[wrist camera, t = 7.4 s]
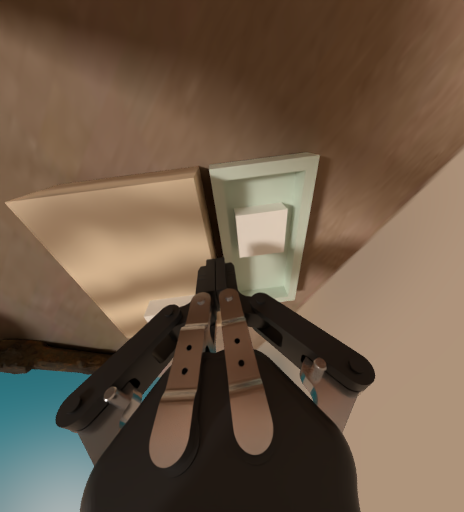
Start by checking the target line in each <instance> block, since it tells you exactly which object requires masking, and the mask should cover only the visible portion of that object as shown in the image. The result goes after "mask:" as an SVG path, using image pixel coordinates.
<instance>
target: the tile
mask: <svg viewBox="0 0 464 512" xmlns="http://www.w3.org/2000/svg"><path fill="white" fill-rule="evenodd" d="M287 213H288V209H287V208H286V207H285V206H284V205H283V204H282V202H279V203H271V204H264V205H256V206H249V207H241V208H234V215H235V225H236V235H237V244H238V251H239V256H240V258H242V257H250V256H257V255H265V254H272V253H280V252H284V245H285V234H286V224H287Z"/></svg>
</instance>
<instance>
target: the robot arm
mask: <svg viewBox="0 0 464 512" xmlns="http://www.w3.org/2000/svg"><path fill="white" fill-rule="evenodd" d="M197 276H198V277H197V284H196V292H195V295H194V296H193V298H192V299H191V302H190V303H188V304H186V305H184V306H181V307H179V306H177V305H175V304H171V305H168V306H166V307H164V308H163V309H162V310H161V311H160V312H159V313H157V314H156V315H155V316H154V317H153V318H152V319H151V320H150V321H149V322H148V323H147V324H146V325H145V326H144V327H142V328H141V329H140V330H139V331H138V332H137V333H136V334H135V335H134V336H133V337H132V338H131V339H130V340H128V341H127V342H126V343H125V344H124V345H123V346H122V347H121V348H120V349H119V350H118V351H117V352H116V353H114V354H113V355H112V356H111V357H110V358H109V359H108V360H107V361H106V362H105V363H104V364H103V365H102V366H101V367H99V368H98V369H97V370H96V371H95V372H94V373H93V374H92V375H91V376H90V377H89V378H88V379H87V380H85V382H83V383H82V384H81V385H80V386H79V387H78V388H77V389H76V390H75V391H74V392H73V393H71V394H70V395H69V396H68V397H67V399H66V400H65V401H64V402H63V403H62V405H61V406H60V408H59V410H58V412H57V415H56V424H57V426H59V427H61V428H65V429H68V430H70V431H72V432H75V433H78V435H79V436H80V438H81V440H82V443H83V444H84V446H85V448H86V450H87V452H88V454H89V456H90V458H91V460H92V462H93V464H94V468H93V470H92V472H91V474H90V477H89V479H88V481H87V484H86V487H85V490H84V493H83V497H82V501H81V508H80V512H360V507H359V500H358V492H357V474H356V467H355V463H354V459H353V456H352V453H351V450H350V447H349V445H348V443H347V441H346V439H345V437H344V436H343V434H342V432H343V430H344V428H345V425H346V423H347V420H348V418H349V415H350V413H351V410H352V408H353V406H354V403H355V401H356V398H357V396H359V395H360V394H361V393H362V392H363V391H364V390H365V389H366V388H367V387H368V386H369V385H370V384H371V383H372V382H373V381H374V379H375V372H374V369H373V367H372V365H371V364H370V362H369V361H368V360H367V359H366V358H365V357H363V356H362V355H360V354H359V353H357V352H356V351H354V350H353V349H351V348H350V347H348V346H347V345H345V344H343V343H342V342H340V341H339V340H337V339H336V338H334V337H333V336H331V335H329V334H328V333H326V332H325V331H323V330H322V329H320V328H318V327H317V326H316V325H314V324H312V323H311V322H309V321H308V320H306V319H305V318H303V317H302V316H300V315H298V314H297V313H295V312H294V311H292V310H291V309H289V308H288V307H286V306H285V305H283V304H281V303H280V302H278V301H277V300H275V299H274V298H272V297H271V296H269V295H268V294H266V293H261V292H259V293H255V294H254V295H252V297H251V296H245V295H243V294H241V293H240V292H239V291H238V287H237V281H236V274H235V267H234V265H233V264H232V263H231V262H229V263H225V258H224V257H221V258H216V259H207V260H206V266H201V267H200V269H199V270H198V275H197ZM219 311H221V319H222V323H221V325H222V334H223V342H224V350H222V351H219V352H217V353H216V333H217V312H219ZM248 326H249V327H253V329H254V330H255V331H256V332H257V333H258V334H260V335H261V336H262V337H263V338H264V339H265V340H267V341H268V342H269V343H270V344H271V345H272V346H274V347H275V348H276V349H277V350H278V351H279V352H281V353H282V354H283V355H284V356H285V357H287V358H288V359H289V360H290V361H291V362H292V363H294V364H295V365H296V366H297V367H298V368H299V369H300V379H301V381H302V384H303V385H304V386H305V388H306V389H307V390H308V391H309V393H310V394H311V396H312V399H313V401H312V400H311V399H310V398H309V397H308V396H307V395H306V394H305V393H304V392H303V391H302V390H301V389H300V388H299V387H298V386H297V385H296V384H295V383H294V382H293V381H292V380H291V379H290V378H289V377H288V376H287V375H286V374H285V373H284V372H283V371H282V370H281V369H280V368H279V367H278V366H277V365H276V364H275V363H274V362H273V361H272V360H271V359H270V358H269V357H267V356H266V355H264V354H263V353H262V352H260V351H257V350H254V349H253V346H252V342H251V338H250V334H249V330H248ZM173 357H174V358H173ZM172 358H173V362H172V365H171V366H170V367H169V368H168V369H167V370H166V372H165V373H164V374H163V375H162V377H161V378H160V379H159V381H158V382H157V383H156V384H155V386H154V387H153V388H152V390H151V391H150V392H149V394H148V395H147V396H146V397H145V399H144V400H143V401H142V395H143V394H144V392H145V391H146V390H147V389H148V387H149V386H150V385H151V384H152V383H153V381H154V380H155V379H156V378H157V377H158V375H159V374H160V373H161V372H162V370H163V369H164V368H165V367H166V366H167V364H168V363H169V362H170V361H171V359H172ZM141 402H142V403H141Z"/></svg>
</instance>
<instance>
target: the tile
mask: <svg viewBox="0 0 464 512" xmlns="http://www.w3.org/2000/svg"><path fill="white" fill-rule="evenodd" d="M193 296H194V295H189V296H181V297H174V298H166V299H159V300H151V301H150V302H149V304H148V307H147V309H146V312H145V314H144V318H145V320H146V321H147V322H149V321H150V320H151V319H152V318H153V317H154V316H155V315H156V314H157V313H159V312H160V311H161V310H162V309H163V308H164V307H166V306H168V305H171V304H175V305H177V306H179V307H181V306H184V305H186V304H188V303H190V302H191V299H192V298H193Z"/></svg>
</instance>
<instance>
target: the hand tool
mask: <svg viewBox="0 0 464 512" xmlns="http://www.w3.org/2000/svg"><path fill="white" fill-rule="evenodd" d="M111 356H112V355H109V354H101V353H92V352H86V351H78V350H72V349H62V348H54V347H50V346H47V344H46V343H45V342H43V341H36V340H20V339H19V340H0V372H6V373H12V374H20V373H27V372H29V371H30V370H31V369H41V370H53V371H66V372H78V373H83V374H93V373H94V372H95V371H96V370H97V369H98V368H99V367H101V366H102V365H103V364H104V363H105V362H106V361H107V360H108V359H109V358H110V357H111Z"/></svg>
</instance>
